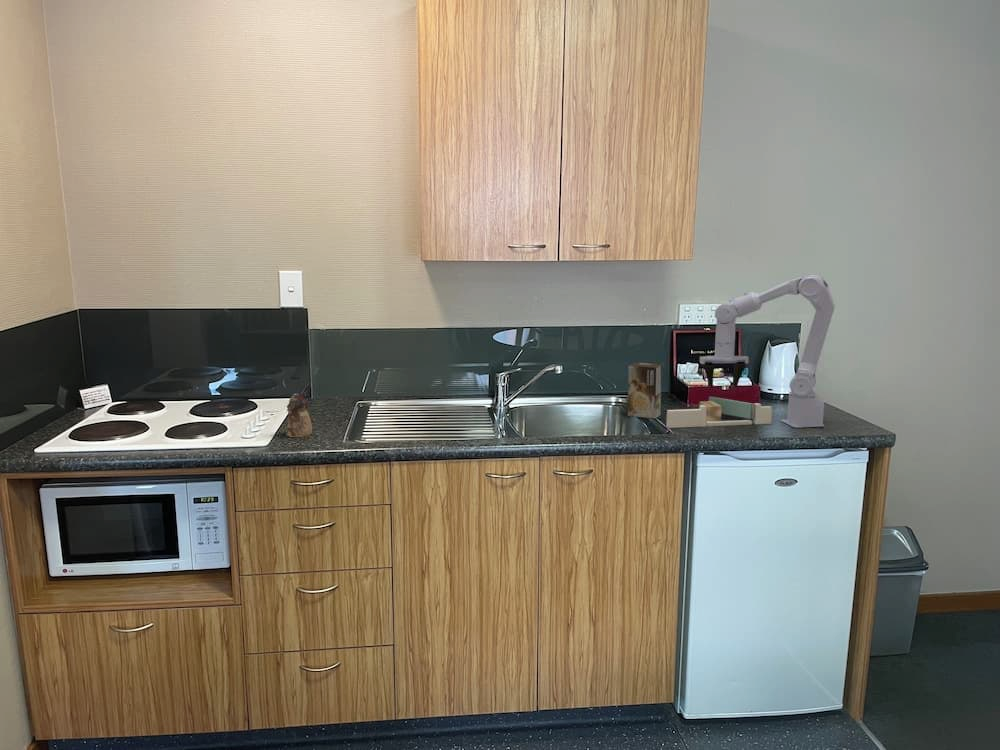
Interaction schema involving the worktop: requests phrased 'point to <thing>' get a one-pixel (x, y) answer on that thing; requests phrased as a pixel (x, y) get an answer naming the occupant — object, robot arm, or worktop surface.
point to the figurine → (298, 417)
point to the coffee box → (644, 390)
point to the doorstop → (712, 411)
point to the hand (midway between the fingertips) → (722, 386)
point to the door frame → (699, 420)
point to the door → (735, 407)
